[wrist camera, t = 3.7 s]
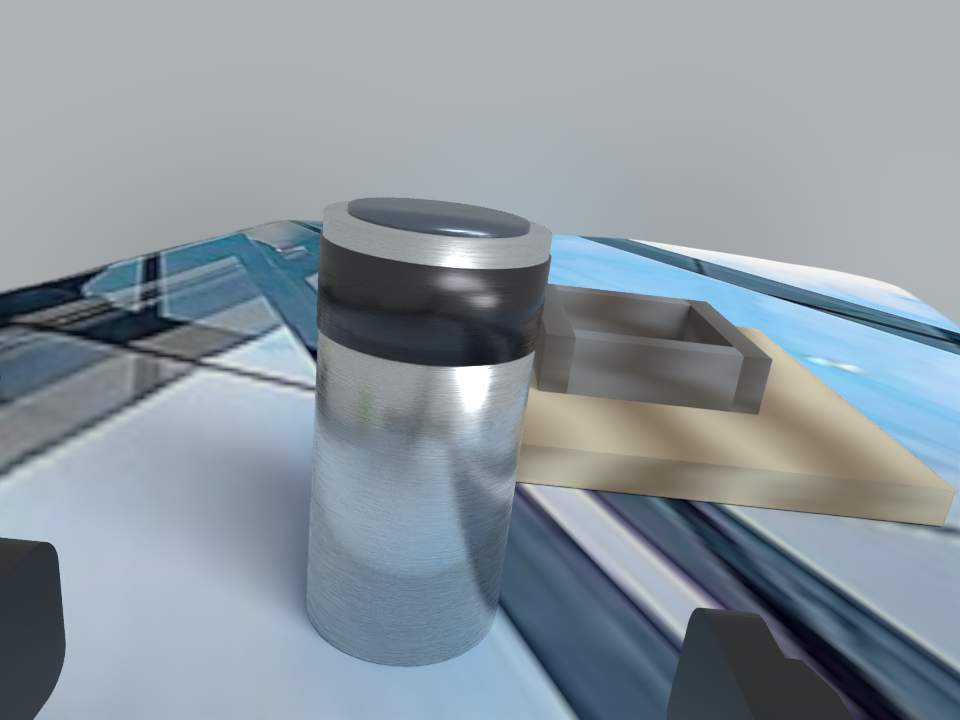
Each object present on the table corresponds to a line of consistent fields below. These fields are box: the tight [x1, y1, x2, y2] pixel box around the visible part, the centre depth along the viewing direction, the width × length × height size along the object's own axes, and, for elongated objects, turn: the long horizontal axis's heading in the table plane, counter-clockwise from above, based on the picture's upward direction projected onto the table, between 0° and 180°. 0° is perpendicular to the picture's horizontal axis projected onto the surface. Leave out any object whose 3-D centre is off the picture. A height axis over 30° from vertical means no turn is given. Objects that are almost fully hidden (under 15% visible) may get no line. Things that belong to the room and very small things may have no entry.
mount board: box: [516, 284, 956, 526], centre depth 35 cm, size 20×20×4 cm
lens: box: [306, 198, 552, 666], centre depth 18 cm, size 5×5×10 cm
